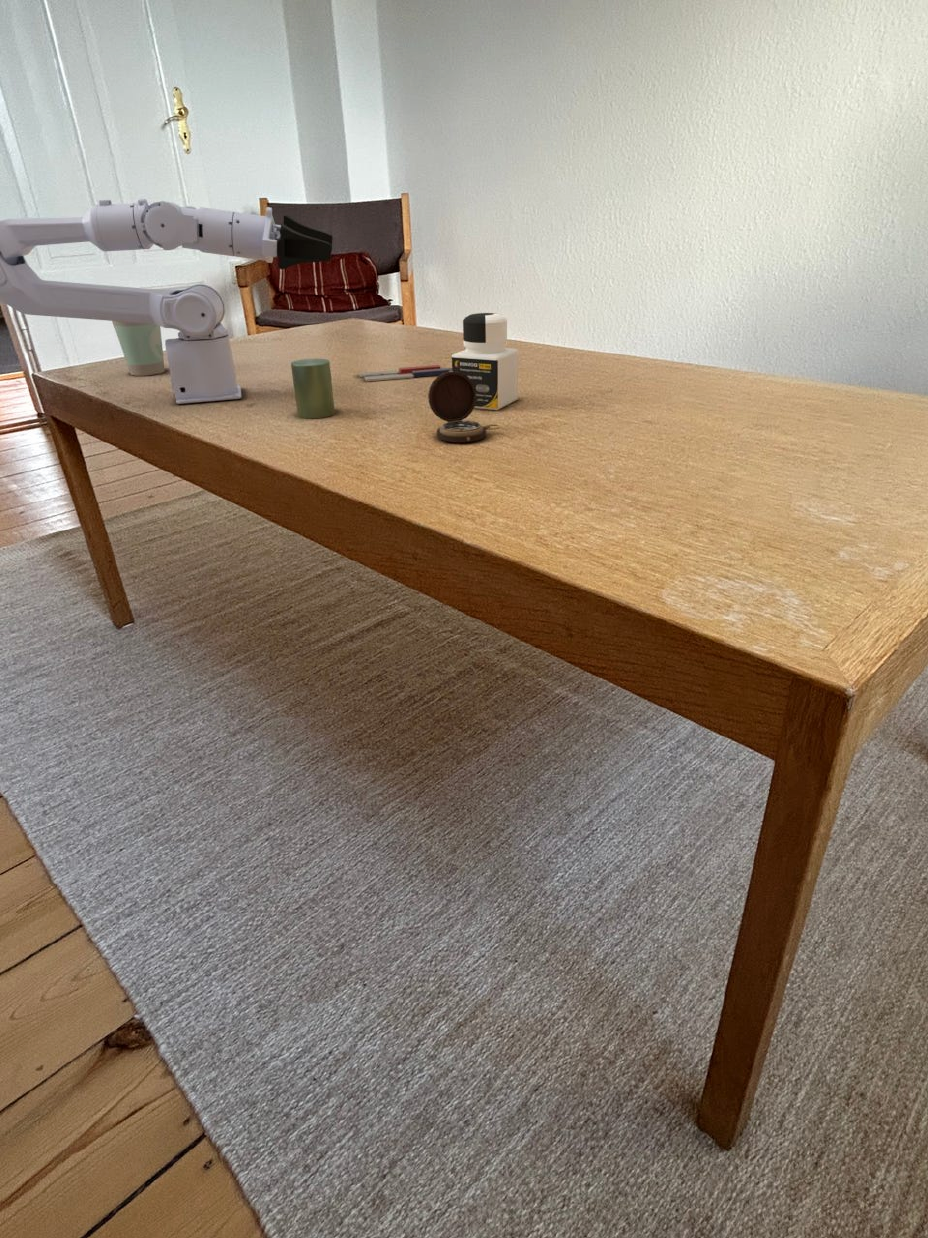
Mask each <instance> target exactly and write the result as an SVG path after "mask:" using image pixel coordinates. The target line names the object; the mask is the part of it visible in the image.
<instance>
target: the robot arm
mask: <svg viewBox="0 0 928 1238" xmlns="http://www.w3.org/2000/svg"><path fill="white" fill-rule="evenodd" d="M148 202H149V201H148V200H147V199H146V198H138V199H137V202H135V203H134V202H133V203H131V202H129V203H112V200H111V199H98V204H92V205H91V206H90V207H89V208H88V210H87V211H86V213H85V214H84V216H70V217H69V216H67V217H66V216H63V217H61V216H60V217H59V216H58V217H18V218H17V217H16V218H7V219H0V302H1V303H4V304H5V305H7V306H8V307H10V308H12V309H13V310H16V311H17V312H18V313H21V314H24V315H28V316H43V317H54V318H55V317H56V318H68V319H81V320H96V321H107V322H108V321H109V322H112V321H121V322H134V323H148V324H156V325H159V326H160V328H164V329H171V330H172V329H173V330H176V331H179V332H177V337H176V338H167V339H165V341H164V342H165V343H164V344H165V352H166V353H165V354H166V358H167V364H168V369H169V373H170V374H169V375H170V377H171V378H170V383H171V388H172V390H173V392H174V396H175V403H176V404H177V405H180V404H182V405H183V404H193V403H194V404H195V403H203V402H204V403H205V402H206V403H207V402H217V401H228V400H239V399H240V400H241V399H242V387H241V385H238V382H237V377H236V369H235V364H234V358H233V354H232V353H233V352H232V346H231V341H230V334H229V330H228V329H227V328H225V327H224V325H223V324H222V321H223V320H224V317H225V314H226V306H225V305H226V304H225V302H224V299H223V297H222V296H221V294H220V293H219V292H218V291H217V290H216V289H215V288H213V287H212V286H210V285H207V284H201V283H197V284H194V285H192V286H189V287H187V288H183V289H181V288H180V289H178V288H162V289H161V288H158V289H156V288H145V287H144V288H143V287H131V286H119V285H108V284H107V285H106V284H105V285H104V284H95V283H83V282H82V283H81V282H69V281H57V280H44V279H42V278H40V276H39V275H38V274H37V273H36V272H35V271H34V270H33V268H32V267H30V265H29V263H28V262H27V259H26V258H25V256H28V255H29V254H30V253H31V252H32V251H33V250H34V249H35V247H37V246H49V245H61V244H62V245H63V244H73V243H87V242H89V243H90V244H93V245H94V246H95V247H96V248H98V249H99V250H100V251H102V252H119V251H138V250H150V249H151V248H152V247H153V246H157V247H159V248H161V249H163V250H164V251H172V250H176V249H178V248H179V247H181V248H182V249H189V250H197V251H199V252H201V253H205V254H212V255H214V254H215V255H219V256H228V257H235V258H242V259H249V260H258V261H263V262H264V261H265V262H266V263H267V264H268V263H269V264H272V263H273V261H274V258H277V256H278V262H277V263H278V267H277V268H278V269H279V270H285V269H287V268H290V267H294V266H296V265H297V266H298V265H301V264H302V265H303V264H309V263H323V262H330V261H332V251H333V235H332V234H330V233H327V232H325V231H322V230H319V229H317V228H313V227H310V226H309V225H305V224H304V223H302V222H299V221H298V220H296V219H295V218H294V217H292V216H291V215H289V214H283V223H281V224H276V222H275V219H274V216H273V208H272V207H270V206H267V207H266V209H265V215H259V214H252V213H245V212H238V211H230V210H223V209H218V208H209V207H203V206H200V207H199V208H196V207H195V206H192V205H191V206H190V205H186V206H180V205H178V204H177V203H175V202H170V201H164V200H161V201H156V202H153V203H150V204H149V203H148Z"/></svg>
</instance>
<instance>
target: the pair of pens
mask: <svg viewBox="0 0 928 1238" xmlns="http://www.w3.org/2000/svg"><path fill="white" fill-rule="evenodd" d="M430 369H441V366H440V365H439V364H431V365H430V364H429V365H419V366H417V365H416V366H406V367H398V371H397V370H395V369H394V370H385V371H373V372H372V371H371V372H361V373H360V372H359V373H357V375H358V377H359V379H361V378H364V377H373V376H385V375H397V374H409V373H412V371H418V370H430ZM364 379H365V378H364Z"/></svg>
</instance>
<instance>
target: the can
mask: <svg viewBox="0 0 928 1238" xmlns="http://www.w3.org/2000/svg"><path fill="white" fill-rule="evenodd" d="M330 363H331V362H330V360H329V359H327V358H302V359H296V360H293V361H292V362H290V367H291V377H292V382H293V391H294V392H293V393H294V398H295V406H296V411H297V412H296V413H297V417H299V418H302V419H322V418H323V419H324V418H327V417H328V418H329V417H331V416H333V415H335V413H336V409H335V398H334V390H333V383H332V382H333V380H332V371H331V364H330Z"/></svg>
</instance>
